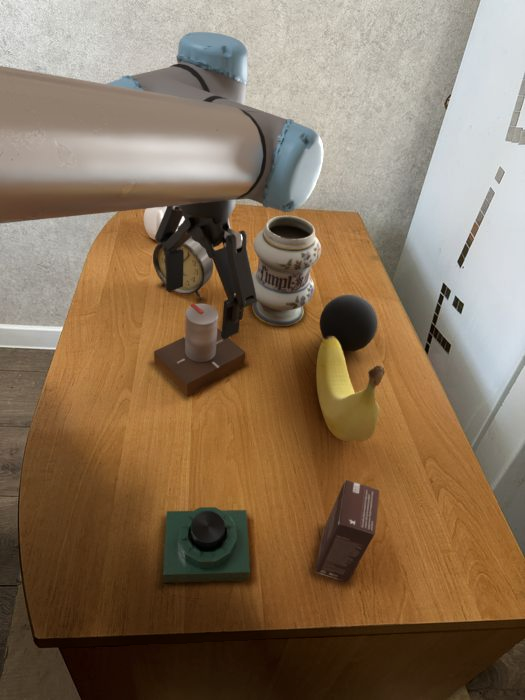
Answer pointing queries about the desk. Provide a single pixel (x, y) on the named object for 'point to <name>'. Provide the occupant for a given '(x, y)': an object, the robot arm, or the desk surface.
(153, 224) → the cat figurine
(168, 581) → the button box
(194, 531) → the button
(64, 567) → the desk surface
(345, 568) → the box
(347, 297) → the decorative ball
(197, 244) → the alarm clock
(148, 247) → the desk surface
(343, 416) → the banana
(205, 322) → the dial
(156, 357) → the dial panel
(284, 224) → the apothecary jar
